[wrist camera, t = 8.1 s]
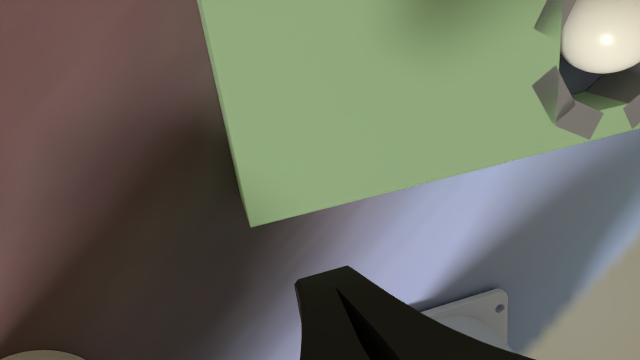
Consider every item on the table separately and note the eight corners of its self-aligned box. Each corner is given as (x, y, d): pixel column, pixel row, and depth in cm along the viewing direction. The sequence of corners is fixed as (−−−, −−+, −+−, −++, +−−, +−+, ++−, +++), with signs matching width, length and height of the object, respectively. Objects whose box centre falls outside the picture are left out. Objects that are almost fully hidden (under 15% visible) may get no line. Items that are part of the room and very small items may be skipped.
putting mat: (648, 101, 25) (697, 113, 22) (241, 200, 21) (250, 227, 18) (671, -83, 22) (730, -90, 19) (195, -8, 18) (199, -6, 15)
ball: (680, 51, 17) (592, 109, 21) (707, -7, 19) (622, 56, 23) (588, -23, 17) (516, 47, 21) (624, -74, 19) (552, -2, 23)
